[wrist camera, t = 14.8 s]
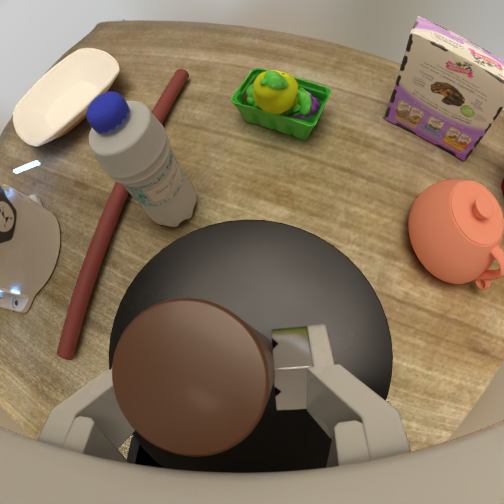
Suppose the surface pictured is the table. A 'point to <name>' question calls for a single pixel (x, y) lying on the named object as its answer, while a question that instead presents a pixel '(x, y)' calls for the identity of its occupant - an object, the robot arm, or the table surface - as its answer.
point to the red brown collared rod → (106, 236)
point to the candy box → (446, 89)
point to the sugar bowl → (458, 232)
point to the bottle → (140, 157)
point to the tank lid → (238, 345)
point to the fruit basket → (281, 101)
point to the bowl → (64, 96)
